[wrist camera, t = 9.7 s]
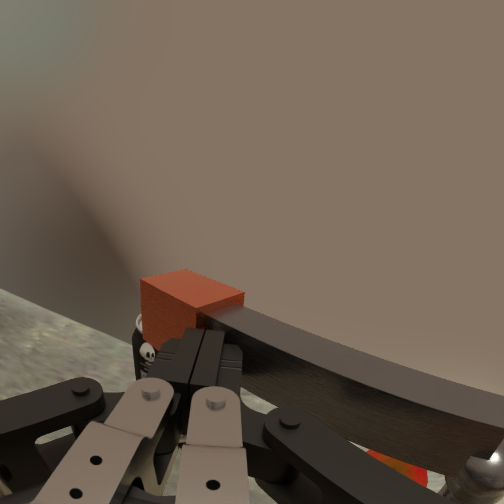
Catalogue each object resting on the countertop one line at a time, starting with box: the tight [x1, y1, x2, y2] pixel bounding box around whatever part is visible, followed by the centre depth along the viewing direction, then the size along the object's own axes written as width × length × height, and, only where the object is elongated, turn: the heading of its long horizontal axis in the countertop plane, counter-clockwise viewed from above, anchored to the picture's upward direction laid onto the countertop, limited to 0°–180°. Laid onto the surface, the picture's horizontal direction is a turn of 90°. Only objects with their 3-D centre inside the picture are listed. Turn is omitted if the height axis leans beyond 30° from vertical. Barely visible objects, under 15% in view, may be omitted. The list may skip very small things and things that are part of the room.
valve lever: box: [140, 269, 504, 504], centre depth 10 cm, size 18×3×3 cm, turn 51°
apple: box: [366, 450, 428, 487], centre depth 16 cm, size 6×6×8 cm
